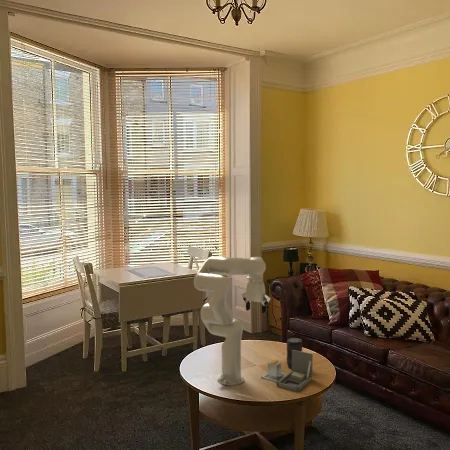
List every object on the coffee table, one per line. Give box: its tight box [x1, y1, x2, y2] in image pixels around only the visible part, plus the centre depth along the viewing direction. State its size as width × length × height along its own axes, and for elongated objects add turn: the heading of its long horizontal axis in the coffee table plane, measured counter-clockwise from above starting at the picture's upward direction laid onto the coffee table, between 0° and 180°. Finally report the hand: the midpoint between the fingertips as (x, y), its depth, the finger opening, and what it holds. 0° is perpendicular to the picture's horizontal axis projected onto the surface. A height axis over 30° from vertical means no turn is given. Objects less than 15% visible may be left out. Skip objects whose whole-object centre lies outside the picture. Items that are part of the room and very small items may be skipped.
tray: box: [260, 371, 288, 383], centre depth 243 cm, size 10×10×1 cm
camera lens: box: [286, 337, 303, 370], centre depth 256 cm, size 8×8×15 cm
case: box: [276, 350, 314, 393], centre depth 235 cm, size 17×11×14 cm, turn 147°
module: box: [267, 359, 282, 380], centre depth 243 cm, size 5×5×8 cm
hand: (255, 311), depth 262 cm, fingers open, 9 cm apart
